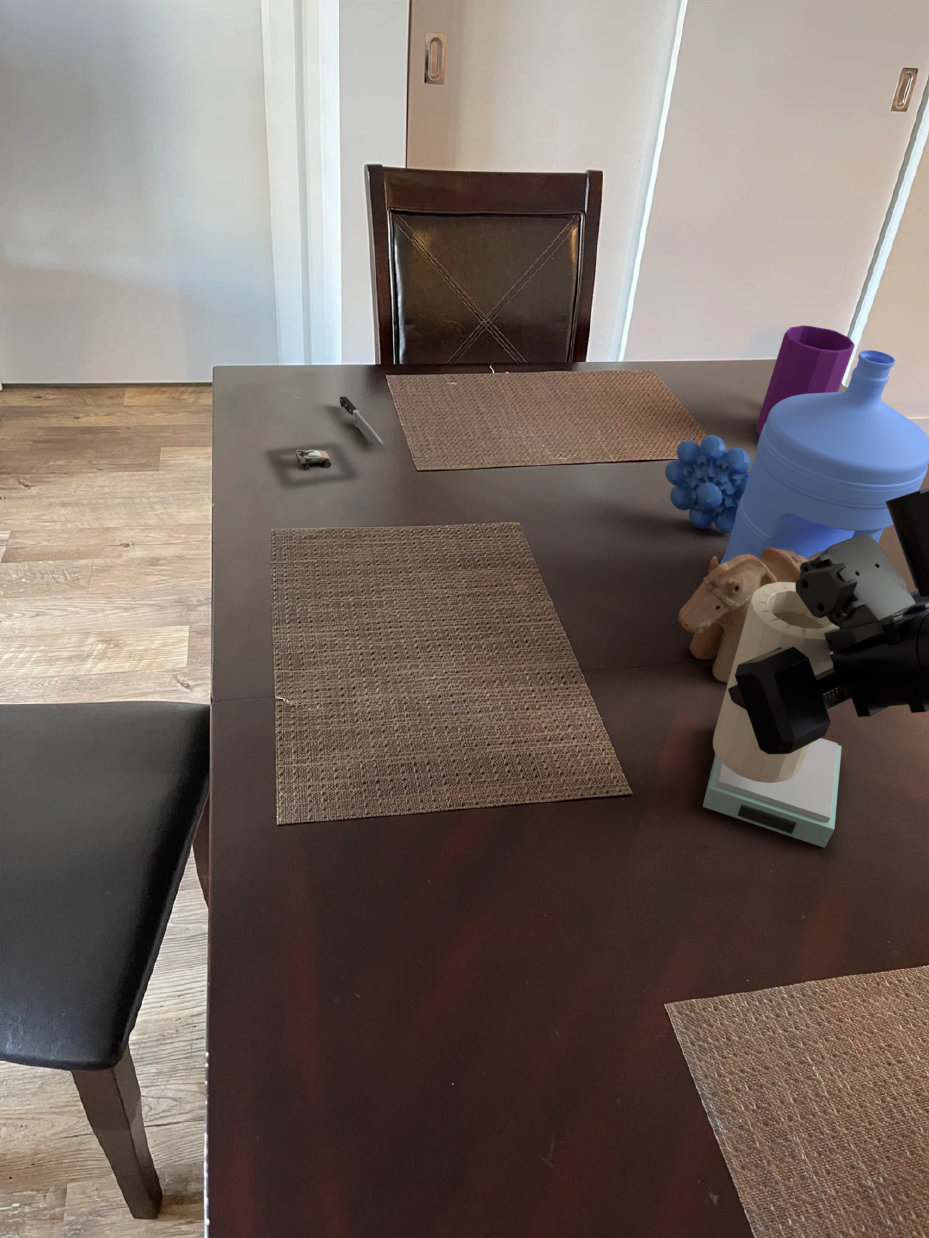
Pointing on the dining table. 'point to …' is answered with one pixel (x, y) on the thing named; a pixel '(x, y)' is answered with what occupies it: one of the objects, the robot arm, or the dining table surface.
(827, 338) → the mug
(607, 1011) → the dining table surface
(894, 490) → the water jug
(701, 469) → the blue knobby flower
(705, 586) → the figurine
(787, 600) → the jar
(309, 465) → the toy car
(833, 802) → the scale
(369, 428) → the knife
